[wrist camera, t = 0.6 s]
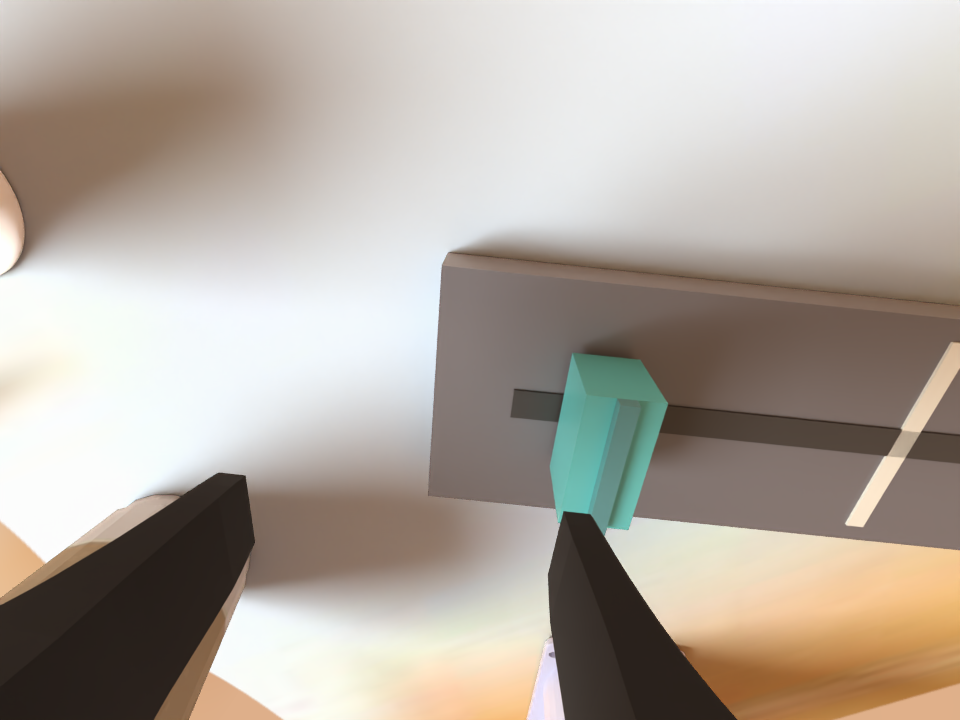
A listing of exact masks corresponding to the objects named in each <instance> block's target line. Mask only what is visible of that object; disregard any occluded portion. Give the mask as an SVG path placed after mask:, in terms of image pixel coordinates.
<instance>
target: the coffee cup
mask: <svg viewBox="0 0 960 720" xmlns="http://www.w3.org/2000/svg"><path fill="white" fill-rule="evenodd" d="M178 498H180V496H176V495H152V496H148V497H145V498H141V499H138V500H135V501H134V502H133V503H131V504H130V505H129V506H127V507H125V508H122V509H118V510H116V511H115V512H114V513H112V514H111V515H110V516H108V517H107V518H106V519H105V520H103V521H102V522H101V523H99V524H98V525H97V526H95V527H94V528H93V529H91V530H90V531H89V532H87V533H86V534H85V535H83V536H82V537H81V538H79V539H78V540H77V541H75V542H74V543H73V544H71V545H70V546H69V547H67V548H66V549H65V550H63V551H62V552H61V553H59V554H58V555H57V556H55V557H54V558H53V559H51V560H50V561H49V562H48V563H46V564H45V565H44V566H42V567H41V568H40V569H38V570H37V571H36V572H34V573H33V574H32V575H30V576H29V577H28V578H26V579H25V580H24V581H22V582H21V583H20V584H18V585H17V586H16V587H14V588H13V589H12V590H10V591H9V592H8V593H6V594H5V595H4V596H2V597H1V598H0V605H2V604H3V603H5V602H7V601H9V600H11V599H13V598H15V597H17V596H19V595H21V594H22V593H24V592H26V591H28V590H30V589H31V588H33V587H35V586H37V585H39V584H41V583H42V582H44V581H46V580H48V579H49V578H51V577H53V576H55V575H56V574H58V573H60V572H61V571H63V570H65V569H66V568H68V567H70V566H71V565H73V564H75V563H76V562H78V561H80V560H81V559H83V558H85V557H86V556H88V555H90V554H91V553H93V552H95V551H96V550H98V549H100V548H101V547H103V546H105V545H106V544H108V543H110V542H111V541H113V540H115V539H116V538H118V537H120V536H121V535H123V534H124V533H126V532H127V531H129V530H130V529H132V528H134V527H135V526H137V525H138V524H140V523H141V522H143V521H144V520H146V519H148V518H149V517H151V516H152V515H154V514H155V513H157V512H158V511H160V510H161V509H163V508H165V507H166V506H168V505H169V504H171V503H172V502H174V501H175V500H177V499H178ZM249 562H250V554H249V557H248V559H247V561H246V563H245V566H244V568H243V570H242V572H241V574H240V576H239V578H238V580H237V582H236V584H235V586H234V588H233V590H232V592H231V593H230V595H229V597H228V598H227V600H226V602H225V603H224V605H223V607H222V608H221V610H220V612H219V613H218V615H217V616H216V618H215V620H214V621H213V623H212V625H211V626H210V628H209V630H208V631H207V633H206V634H205V636H204V638H203V639H202V641H201V642H200V644H199V646H198V647H197V649H196V651H195V652H194V654H193V655H192V657H191V659H190V660H189V662H188V664H187V665H186V667H185V668H184V670H183V672H182V673H181V675H180V676H179V678H178V680H177V681H176V683H175V685H174V686H173V688H172V689H171V691H170V693H169V694H168V696H167V698H166V700H165V701H164V703H163V705H162V707H161V708H160V710H159V712H158V713H157V715H156V717H155V719H154V720H189V718H190V715H191V713H192V711H193V708H194V706H195V704H196V701H197V699H198V696H199V694H200V692H201V689H202V686H203V684H204V682H205V680H206V677H207V675H208V673H209V670H210V668H211V665H212V663H213V661H214V658H215V656H216V653H217V651H218V649H219V646H220V644H221V642H222V639H223V637H224V634H225V632H226V630H227V627H228V625H229V622H230V620H231V618H232V615H233V613H234V610H235V608H236V606H237V603H238V601H239V599H240V596H241V594H242V591H243V589H244V587H245V582H246V573H247V571H248V569H249Z"/></svg>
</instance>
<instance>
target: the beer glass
mask: <svg viewBox="0 0 960 720" xmlns="http://www.w3.org/2000/svg"><path fill="white" fill-rule="evenodd" d="M24 235H25V232H24V221H23V216H22V212H21V209H20V206H19V203H18V200H17V198H16V196H15V193H14V191H13V189H12V188H11V186H10V184H9V182H8V181H7V179H6V178H5V176H4V175H3V173H2V172H1V170H0V275H1V274H3V273H5V272H6V271H8V270H9V269H10V268H11V267H12V266H13V265H14V264H15V263H16V262H17V260H18V259H19V257H20V255H21V252H22V249H23V245H24Z"/></svg>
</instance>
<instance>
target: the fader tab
mask: <svg viewBox="0 0 960 720" xmlns="http://www.w3.org/2000/svg"><path fill="white" fill-rule="evenodd" d="M667 406H668V403H667V401H666V399H665V398H664V396H663V395H662V393H661V392H660V390H659V388H658V387H657V385H656V384H655V382H654V381H653V379H652V377H651V376H650V374H649V373H648V371H647V370H646V368H645V366H644V365H643V363H642V362H641V360H638V359H628V358H619V357H609V356H600V355H590V354H580V353H572V357H571V362H570V367H569V372H568V377H567V382H566V387H565V392H564V397H563V402H562V407H561V412H560V417H559V422H558V427H557V432H556V437H555V442H554V447H553V452H552V457H551V462H550V472H551V479H552V486H553V492H554V499H555V506H556V513H557V519H558V523H561V519H562V515H563V511H567V512H576V513H585V514H591V516H592V517H593V518H594V520H595V521H596V523H597V525H598V527H599V528H600V530H601V532H602V533H603V535H604V536H605V532H606V529H607V528H614V529H624V530H629V526H630V523H631V520H632V517H633V514H634V510H635V507H636V504H637V501H638V498H639V495H640V491H641V488H642V485H643V482H644V479H645V476H646V472H647V469H648V466H649V463H650V460H651V456H652V453H653V450H654V447H655V444H656V441H657V437H658V434H659V431H660V428H661V425H662V422H663V418H664V415H665V412H666V409H667Z"/></svg>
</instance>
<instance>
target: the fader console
mask: <svg viewBox="0 0 960 720" xmlns="http://www.w3.org/2000/svg"><path fill="white" fill-rule="evenodd" d="M572 353H580V354H590V355H600V356H609V357H619V358H628V359H638V360H641V362H642V363H643V365H644V366H645V368H646V370H647V371H648V373H649V374H650V376H651V377H652V379H653V381H654V382H655V384H656V385H657V387H658V388H659V390H660V392H661V393H662V395H663V396H664V398H665V399H666V401H667V403H668V406H667V409H666V412H665V415H664V418H663V422H662V425H661V428H660V431H659V434H658V437H657V441H656V444H655V447H654V450H653V453H652V456H651V460H650V463H649V466H648V469H647V472H646V476H645V479H644V482H643V485H642V488H641V491H640V495H639V498H638V501H637V504H636V507H635V510H634V514H633V517H642V518H651V519H661V520H671V521H680V522H690V523H700V524H710V525H719V526H729V527H739V528H749V529H758V530H768V531H778V532H788V533H797V534H807V535H817V536H826V537H836V538H846V539H856V540H865V541H875V542H885V543H895V544H904V545H914V546H924V547H934V548H943V549H953V550H960V306H956V305H946V304H937V303H927V302H918V301H908V300H898V299H889V298H879V297H870V296H860V295H850V294H841V293H831V292H822V291H812V290H803V289H793V288H783V287H774V286H764V285H755V284H745V283H735V282H726V281H716V280H707V279H697V278H687V277H678V276H668V275H659V274H649V273H640V272H630V271H620V270H611V269H601V268H592V267H582V266H572V265H563V264H553V263H544V262H534V261H524V260H515V259H505V258H496V257H486V256H477V255H467V254H457V253H448V254H447V256H446V258H445V260H444V262H443V264H442V271H441V288H440V304H439V321H438V338H437V355H436V372H435V388H434V405H433V422H432V439H431V456H430V472H429V489H428V496H437V497H447V498H457V499H466V500H476V501H486V502H496V503H505V504H515V505H525V506H535V507H544V508H554V509H556V506H555V499H554V492H553V486H552V479H551V472H550V462H551V457H552V452H553V447H554V442H555V437H556V432H557V427H558V422H559V417H560V412H561V407H562V402H563V397H564V392H565V387H566V382H567V377H568V372H569V367H570V362H571V357H572Z"/></svg>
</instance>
